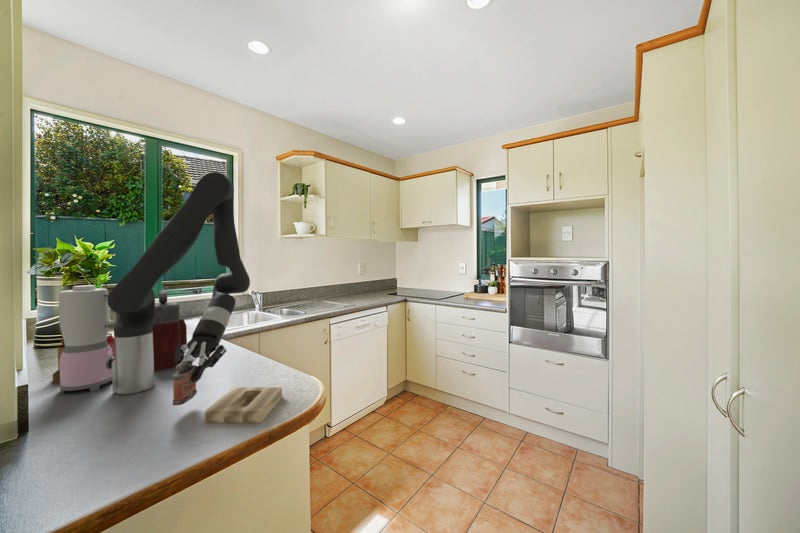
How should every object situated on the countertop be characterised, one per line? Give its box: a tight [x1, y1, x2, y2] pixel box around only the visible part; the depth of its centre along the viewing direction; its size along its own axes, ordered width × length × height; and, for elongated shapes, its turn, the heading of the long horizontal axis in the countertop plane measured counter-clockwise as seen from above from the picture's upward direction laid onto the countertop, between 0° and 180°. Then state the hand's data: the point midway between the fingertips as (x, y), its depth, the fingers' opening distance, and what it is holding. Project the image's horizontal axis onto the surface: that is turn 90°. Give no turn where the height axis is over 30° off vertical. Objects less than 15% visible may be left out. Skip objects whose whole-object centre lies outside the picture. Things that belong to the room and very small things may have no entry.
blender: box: [58, 284, 120, 394], centre depth 102 cm, size 16×12×32 cm
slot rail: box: [204, 386, 283, 424], centre depth 87 cm, size 14×14×3 cm
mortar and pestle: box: [52, 327, 65, 383], centre depth 108 cm, size 7×6×18 cm
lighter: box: [171, 359, 198, 407], centre depth 85 cm, size 8×3×10 cm, turn 5°
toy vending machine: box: [153, 290, 188, 372], centre depth 121 cm, size 9×11×28 cm
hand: (186, 380), depth 85 cm, fingers closed on lighter, 3 cm apart
